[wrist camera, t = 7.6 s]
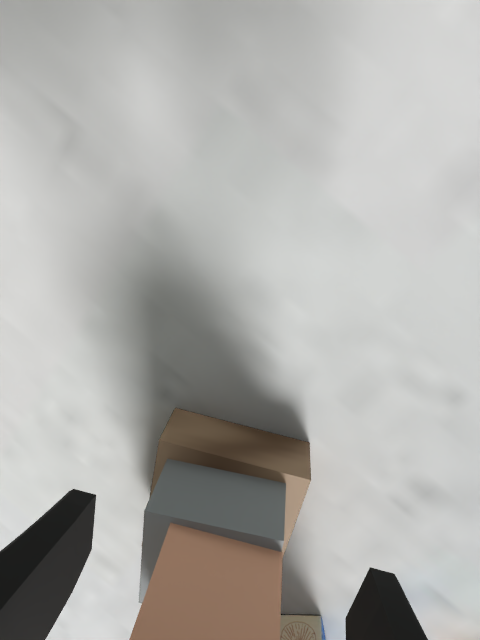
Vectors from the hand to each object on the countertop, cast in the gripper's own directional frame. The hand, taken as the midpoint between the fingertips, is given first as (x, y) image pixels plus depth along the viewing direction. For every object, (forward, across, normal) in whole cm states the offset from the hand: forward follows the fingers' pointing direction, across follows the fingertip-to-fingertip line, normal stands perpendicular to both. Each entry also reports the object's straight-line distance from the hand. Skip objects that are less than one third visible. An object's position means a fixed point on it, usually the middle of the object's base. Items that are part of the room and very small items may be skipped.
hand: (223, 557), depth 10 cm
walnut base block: (+10, 0, +6) cm, 12 cm away
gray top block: (+7, 0, +6) cm, 10 cm away
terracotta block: (+4, 0, +6) cm, 8 cm away
